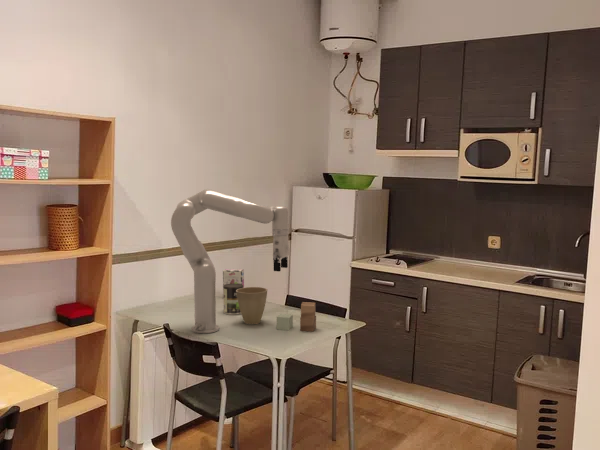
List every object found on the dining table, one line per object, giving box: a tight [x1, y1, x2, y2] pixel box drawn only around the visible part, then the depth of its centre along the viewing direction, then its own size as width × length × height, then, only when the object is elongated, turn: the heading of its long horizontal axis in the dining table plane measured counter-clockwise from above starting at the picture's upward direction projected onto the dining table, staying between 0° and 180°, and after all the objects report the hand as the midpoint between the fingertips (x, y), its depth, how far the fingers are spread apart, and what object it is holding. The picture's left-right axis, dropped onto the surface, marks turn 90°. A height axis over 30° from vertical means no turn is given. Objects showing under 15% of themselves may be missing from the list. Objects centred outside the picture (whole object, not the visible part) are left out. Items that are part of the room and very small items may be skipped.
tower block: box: [300, 301, 316, 319], centre depth 272 cm, size 6×6×6 cm
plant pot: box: [236, 286, 268, 325], centre depth 284 cm, size 15×15×16 cm
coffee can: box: [222, 284, 243, 316], centre depth 304 cm, size 10×10×14 cm
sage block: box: [276, 313, 294, 331], centre depth 275 cm, size 6×6×6 cm
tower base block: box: [299, 315, 317, 333], centre depth 273 cm, size 6×6×6 cm
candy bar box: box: [222, 268, 245, 300], centre depth 336 cm, size 11×5×16 cm, turn 81°
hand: (280, 269), depth 276 cm, fingers open, 9 cm apart
